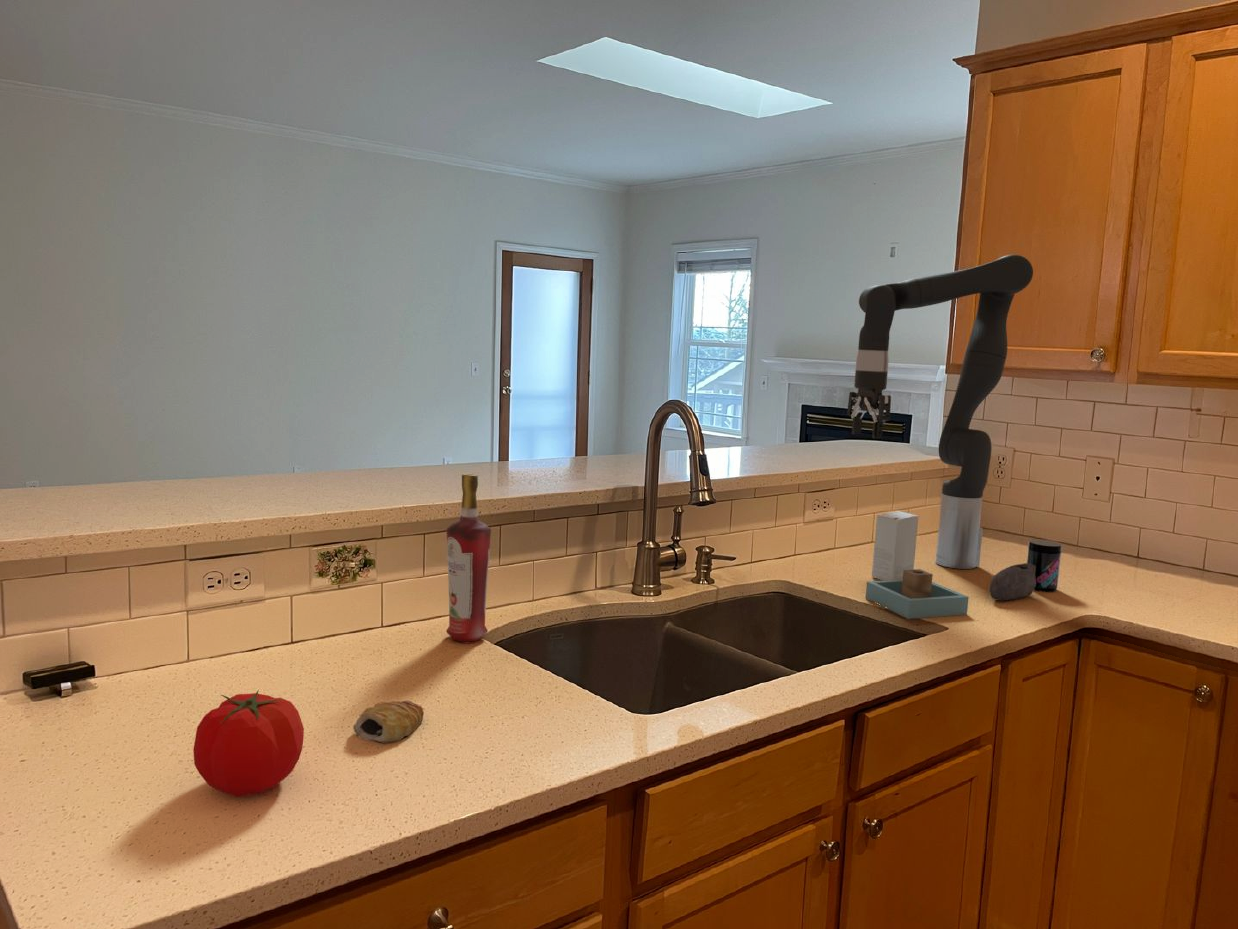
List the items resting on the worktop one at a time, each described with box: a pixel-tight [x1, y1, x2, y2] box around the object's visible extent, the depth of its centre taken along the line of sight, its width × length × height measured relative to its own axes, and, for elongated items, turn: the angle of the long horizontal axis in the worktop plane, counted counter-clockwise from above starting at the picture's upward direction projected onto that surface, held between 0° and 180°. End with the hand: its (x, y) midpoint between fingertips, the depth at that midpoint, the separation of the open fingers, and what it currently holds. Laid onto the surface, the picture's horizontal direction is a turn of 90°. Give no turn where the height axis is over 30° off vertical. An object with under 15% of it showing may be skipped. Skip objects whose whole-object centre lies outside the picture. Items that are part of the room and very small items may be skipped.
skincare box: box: [871, 510, 920, 581], centre depth 205 cm, size 8×6×15 cm
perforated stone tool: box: [988, 562, 1036, 602], centre depth 193 cm, size 15×5×7 cm, turn 124°
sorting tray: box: [865, 579, 969, 620], centre depth 184 cm, size 14×14×4 cm
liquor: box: [446, 473, 492, 643], centre depth 152 cm, size 7×7×28 cm
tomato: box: [193, 689, 305, 798], centre depth 102 cm, size 12×12×10 cm
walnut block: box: [901, 568, 934, 599], centre depth 184 cm, size 4×4×7 cm
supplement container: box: [1026, 538, 1063, 593], centre depth 202 cm, size 7×7×10 cm
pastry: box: [353, 700, 425, 744], centre depth 118 cm, size 9×7×4 cm
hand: (866, 436), depth 222 cm, fingers open, 8 cm apart
